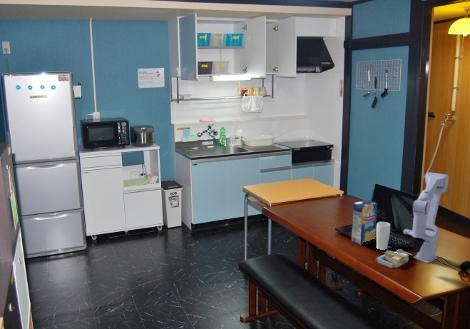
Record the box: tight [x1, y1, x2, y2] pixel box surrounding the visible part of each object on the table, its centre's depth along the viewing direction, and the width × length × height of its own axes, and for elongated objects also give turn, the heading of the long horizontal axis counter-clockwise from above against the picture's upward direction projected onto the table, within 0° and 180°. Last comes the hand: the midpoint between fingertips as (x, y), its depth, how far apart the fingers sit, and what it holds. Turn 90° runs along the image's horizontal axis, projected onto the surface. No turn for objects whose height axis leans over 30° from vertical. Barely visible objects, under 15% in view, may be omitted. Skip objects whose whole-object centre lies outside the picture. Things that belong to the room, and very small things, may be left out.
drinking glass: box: [375, 221, 391, 250], centre depth 234 cm, size 7×7×15 cm
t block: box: [384, 249, 410, 269], centre depth 223 cm, size 10×9×4 cm
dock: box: [375, 250, 410, 269], centre depth 224 cm, size 14×9×2 cm, turn 127°
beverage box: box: [351, 199, 378, 246], centre depth 246 cm, size 7×11×22 cm, turn 120°
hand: (417, 251), depth 212 cm, fingers closed
